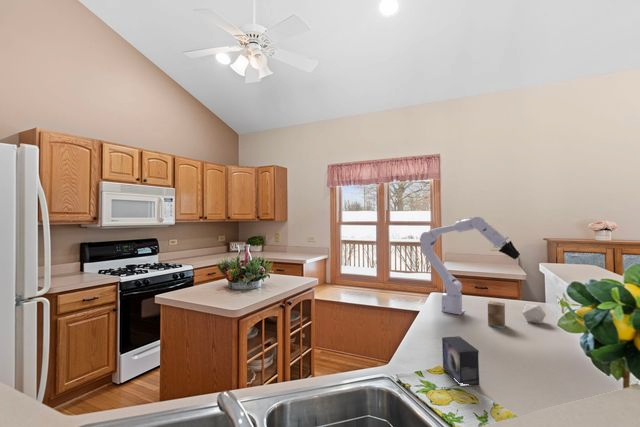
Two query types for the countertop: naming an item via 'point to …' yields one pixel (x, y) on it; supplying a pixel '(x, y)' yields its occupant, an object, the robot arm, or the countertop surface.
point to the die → (533, 313)
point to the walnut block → (496, 314)
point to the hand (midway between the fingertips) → (517, 257)
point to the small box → (460, 360)
